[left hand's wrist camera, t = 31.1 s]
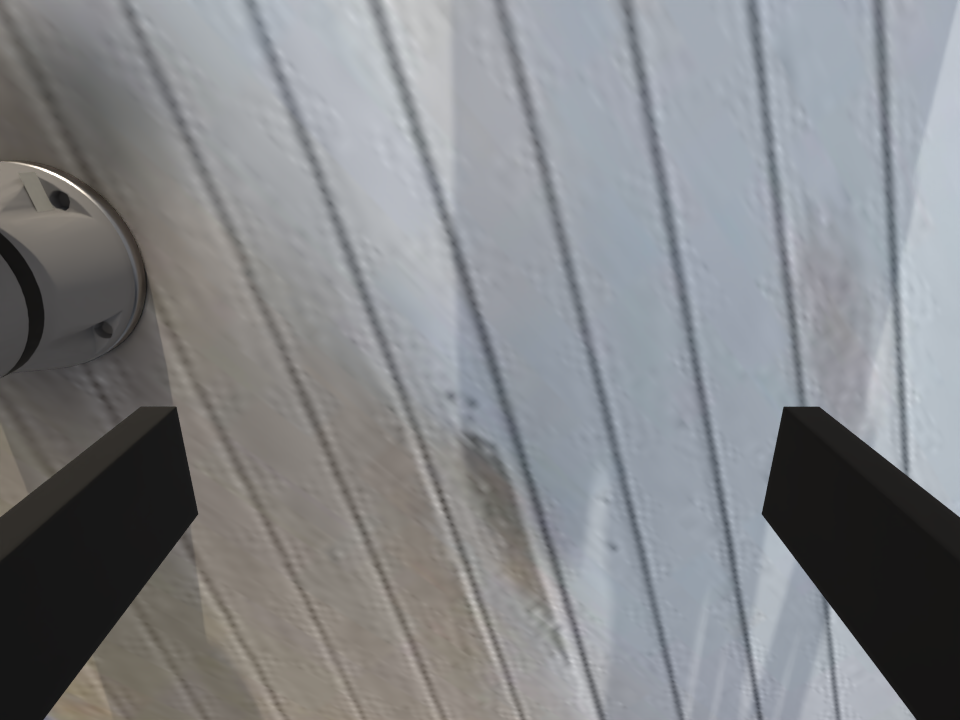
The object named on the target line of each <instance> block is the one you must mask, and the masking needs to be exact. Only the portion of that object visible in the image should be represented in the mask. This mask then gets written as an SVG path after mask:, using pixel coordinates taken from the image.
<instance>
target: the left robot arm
mask: <svg viewBox="0 0 960 720" xmlns="http://www.w3.org/2000/svg"><path fill="white" fill-rule="evenodd" d="M145 295H146V277H145V270H144V265H143V261H142V257H141V254H140V252H139V249H138V246H137V244H136V242H135V240H134V238H133V236H132V234H131V232H130V230H129V229H128V227H127V226H126V224H125V223H124V221H123V220H122V218H121V217H120V216H119V214H118V213H117V212H116V211H115V209H114V208H113V207H112V206H111V205H110V204H109V203H108V202H107V201H106V200H105V199H104V198H103V197H102V196H101V195H99V194H98V193H97V192H96V191H95V190H93V189H92V188H91V187H89V186H88V185H86V184H85V183H83V182H82V181H80V180H79V179H77V178H75V177H73V176H72V175H70V174H68V173H65V172H63V171H61V170H59V169H56V168H53V167H50V166H47V165H43V164H39V163H34V162H28V161H0V378H2V377H4V376H6V375H8V374H10V373H17V372H27V371H38V370H49V369H59V368H66V367H71V366H75V365H79V364H82V363H86V362H88V361H91V360H93V359H96V358H98V357H100V356H101V355H103V354H105V353H107V352H108V351H110V350H112V349H113V348H115V347H116V346H118V345H119V344H120V343H121V342H123V341H124V340H125V339H126V338H127V337H128V336H129V335H130V333H131V332H132V330H133V329H134V328H135V326H136V324H137V322H138V320H139V318H140V316H141V313H142V310H143V306H144V302H145ZM197 515H198V511H197V506H196V501H195V496H194V491H193V486H192V481H191V476H190V471H189V467H188V462H187V457H186V452H185V447H184V442H183V437H182V432H181V427H180V422H179V417H178V413H177V408H176V407H140V408H139V409H137V410H136V411H135V412H134V413H132V414H131V415H130V416H128V417H127V418H126V419H125V420H123V421H122V422H121V423H120V424H118V425H117V426H116V427H115V428H113V429H112V430H111V431H109V432H108V433H107V434H106V435H104V436H103V437H102V438H101V439H99V440H98V441H97V442H95V443H94V444H93V445H92V446H90V447H89V448H88V449H87V450H85V451H84V452H83V453H81V454H80V455H79V456H78V457H76V458H75V459H74V460H73V461H71V462H70V463H69V464H67V465H66V466H65V467H64V468H62V469H61V470H60V471H59V472H57V473H56V474H55V475H53V476H52V477H51V478H50V479H48V480H47V481H46V482H45V483H43V484H42V485H41V486H40V487H38V488H37V489H36V490H34V491H33V492H32V493H31V494H29V495H28V496H27V497H26V498H24V499H23V500H22V501H20V502H19V503H18V504H17V505H15V506H14V507H13V508H12V509H10V510H9V511H8V512H6V513H5V514H4V515H3V516H1V517H0V720H44V718H45V717H46V716H47V714H48V713H49V712H50V710H51V709H52V708H53V706H54V705H55V704H56V702H57V701H58V700H59V698H60V697H61V696H62V694H63V693H64V692H65V690H66V689H67V688H68V686H69V685H70V684H71V682H72V681H73V680H74V678H75V677H76V676H77V674H78V673H79V672H80V670H81V669H82V668H83V666H84V665H85V664H86V662H87V661H88V660H89V658H90V657H91V656H92V654H93V653H94V652H95V650H96V649H97V648H98V646H99V645H100V644H101V643H102V641H103V640H104V639H105V637H106V636H107V635H108V633H109V632H110V631H111V629H112V628H113V627H114V625H115V624H116V623H117V621H118V620H119V619H120V617H121V616H122V615H123V613H124V612H125V611H126V609H127V608H128V607H129V605H130V604H131V603H132V601H133V600H134V599H135V597H136V596H137V595H138V593H139V592H140V591H141V589H142V588H143V587H144V585H145V584H146V583H147V581H148V580H149V579H150V577H151V576H152V575H153V573H154V572H155V571H156V569H157V568H158V567H159V566H160V564H161V563H162V562H163V560H164V559H165V558H166V556H167V555H168V554H169V552H170V551H171V550H172V548H173V547H174V546H175V544H176V543H177V542H178V540H179V539H180V538H181V536H182V535H183V534H184V532H185V531H186V530H187V528H188V527H189V526H190V524H191V523H192V522H193V520H194V519H195V518H196V516H197ZM762 515H763V516H764V518H765V519H766V520H767V522H768V523H769V524H770V526H771V527H772V528H773V530H774V531H775V532H776V534H777V535H778V536H779V538H780V539H781V540H782V542H783V543H784V544H785V546H786V547H787V548H788V550H789V551H790V552H791V554H792V555H793V556H794V558H795V559H796V560H797V562H798V563H799V564H800V566H801V567H802V568H803V569H804V571H805V572H806V573H807V575H808V576H809V577H810V579H811V580H812V581H813V583H814V584H815V585H816V587H817V588H818V589H819V591H820V592H821V593H822V595H823V596H824V597H825V599H826V600H827V601H828V603H829V604H830V605H831V607H832V608H833V609H834V611H835V612H836V613H837V615H838V616H839V617H840V619H841V620H842V621H843V623H844V624H845V625H846V627H847V628H848V629H849V631H850V632H851V633H852V635H853V636H854V637H855V639H856V640H857V641H858V643H859V644H860V645H861V646H862V648H863V649H864V650H865V652H866V653H867V654H868V656H869V657H870V658H871V660H872V661H873V662H874V664H875V665H876V666H877V668H878V669H879V670H880V672H881V673H882V674H883V676H884V677H885V678H886V680H887V681H888V682H889V684H890V685H891V686H892V688H893V689H894V690H895V692H896V693H897V694H898V696H899V697H900V698H901V700H902V701H903V702H904V704H905V705H906V706H907V708H908V709H909V710H910V712H911V713H912V714H913V716H914V717H915V718H916V720H960V517H959V516H957V515H956V514H955V513H954V512H952V511H951V510H950V509H948V508H947V507H946V506H945V505H943V504H942V503H941V502H940V501H938V500H937V499H936V498H934V497H933V496H932V495H931V494H929V493H928V492H927V491H926V490H924V489H923V488H922V487H920V486H919V485H918V484H917V483H915V482H914V481H913V480H912V479H910V478H909V477H908V476H907V475H905V474H904V473H903V472H901V471H900V470H899V469H898V468H896V467H895V466H894V465H893V464H891V463H890V462H889V461H887V460H886V459H885V458H884V457H882V456H881V455H880V454H879V453H877V452H876V451H875V450H873V449H872V448H871V447H870V446H868V445H867V444H866V443H865V442H863V441H862V440H861V439H859V438H858V437H857V436H856V435H854V434H853V433H852V432H851V431H849V430H848V429H847V428H845V427H844V426H843V425H842V424H840V423H839V422H838V421H837V420H835V419H834V418H833V417H831V416H830V415H829V414H828V413H826V412H825V411H824V410H823V409H821V408H820V407H784V408H783V413H782V417H781V422H780V427H779V432H778V437H777V442H776V447H775V452H774V457H773V462H772V467H771V471H770V476H769V481H768V486H767V491H766V496H765V501H764V506H763V511H762Z"/></svg>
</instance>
